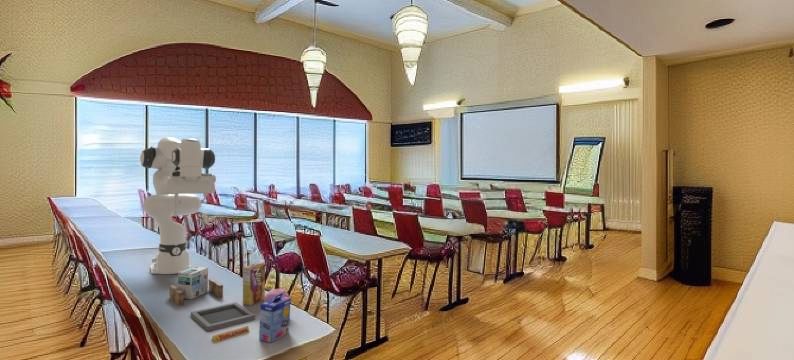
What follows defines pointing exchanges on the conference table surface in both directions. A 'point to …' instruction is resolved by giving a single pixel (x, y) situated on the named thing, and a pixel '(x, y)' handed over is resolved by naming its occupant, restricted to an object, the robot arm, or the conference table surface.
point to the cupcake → (275, 294)
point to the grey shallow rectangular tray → (222, 316)
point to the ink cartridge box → (274, 318)
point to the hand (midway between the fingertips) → (191, 203)
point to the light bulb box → (193, 282)
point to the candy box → (253, 283)
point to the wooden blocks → (178, 294)
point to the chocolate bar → (230, 334)
